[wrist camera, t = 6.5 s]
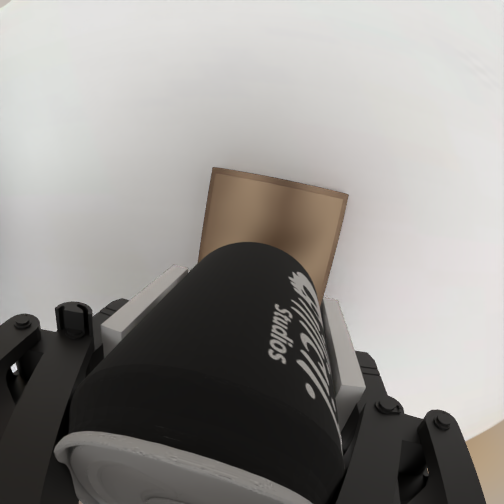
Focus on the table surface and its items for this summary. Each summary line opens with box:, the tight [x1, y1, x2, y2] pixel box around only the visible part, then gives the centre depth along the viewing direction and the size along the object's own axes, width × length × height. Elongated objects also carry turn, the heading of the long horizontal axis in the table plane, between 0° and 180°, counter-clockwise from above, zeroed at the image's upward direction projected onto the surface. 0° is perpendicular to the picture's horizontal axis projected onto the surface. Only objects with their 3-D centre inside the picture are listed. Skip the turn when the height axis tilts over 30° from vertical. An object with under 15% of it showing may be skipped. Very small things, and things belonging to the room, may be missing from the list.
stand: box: [198, 167, 348, 307], centre depth 28 cm, size 12×12×3 cm
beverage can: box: [53, 242, 344, 504], centre depth 10 cm, size 7×7×12 cm
